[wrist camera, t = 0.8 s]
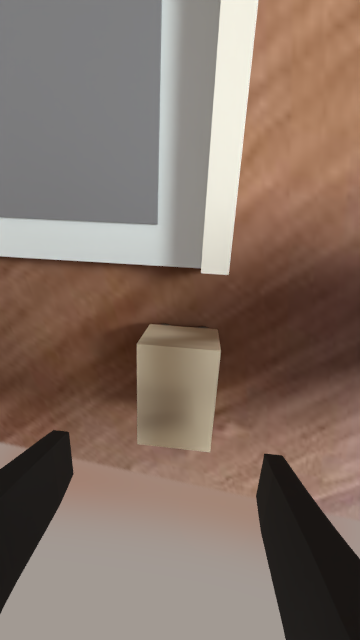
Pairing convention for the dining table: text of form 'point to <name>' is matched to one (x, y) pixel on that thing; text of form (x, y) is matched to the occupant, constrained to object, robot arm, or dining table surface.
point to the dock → (123, 129)
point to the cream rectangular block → (177, 386)
